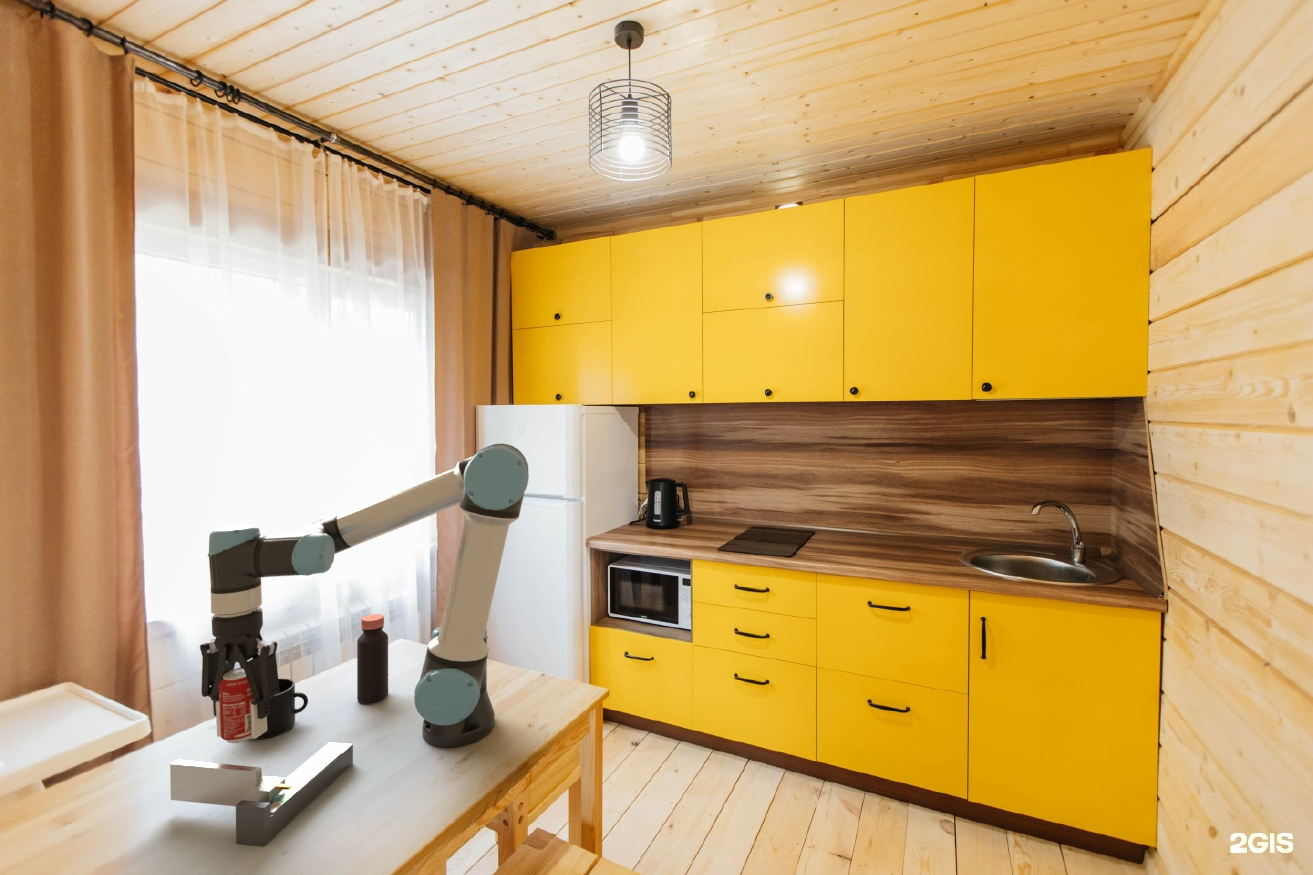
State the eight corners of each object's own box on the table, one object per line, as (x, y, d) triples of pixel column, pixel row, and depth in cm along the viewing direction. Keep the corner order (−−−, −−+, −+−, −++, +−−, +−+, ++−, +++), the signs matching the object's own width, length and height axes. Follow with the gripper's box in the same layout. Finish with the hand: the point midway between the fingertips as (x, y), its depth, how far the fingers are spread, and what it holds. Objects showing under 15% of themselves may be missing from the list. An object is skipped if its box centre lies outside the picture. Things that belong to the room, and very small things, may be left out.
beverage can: (257, 722, 109) (254, 661, 109) (268, 734, 105) (265, 670, 105) (216, 737, 104) (214, 673, 104) (226, 749, 100) (223, 683, 100)
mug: (304, 732, 123) (304, 691, 123) (238, 744, 118) (237, 702, 118) (311, 711, 132) (311, 673, 132) (249, 722, 127) (248, 682, 127)
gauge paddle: (298, 801, 98) (297, 765, 98) (282, 816, 94) (281, 779, 94) (183, 790, 100) (183, 755, 100) (163, 804, 97) (163, 767, 96)
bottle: (353, 697, 139) (353, 616, 138) (383, 688, 144) (383, 610, 143) (361, 707, 134) (361, 624, 133) (392, 698, 138) (391, 618, 138)
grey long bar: (352, 763, 113) (352, 732, 112) (264, 846, 91) (264, 807, 90) (329, 761, 113) (329, 730, 113) (236, 843, 91) (235, 804, 91)
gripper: (300, 605, 106) (305, 724, 107) (208, 602, 109) (213, 719, 109) (269, 619, 99) (274, 748, 100) (170, 616, 101) (176, 742, 102)
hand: (242, 733), depth 105 cm, fingers closed on beverage can, 6 cm apart
